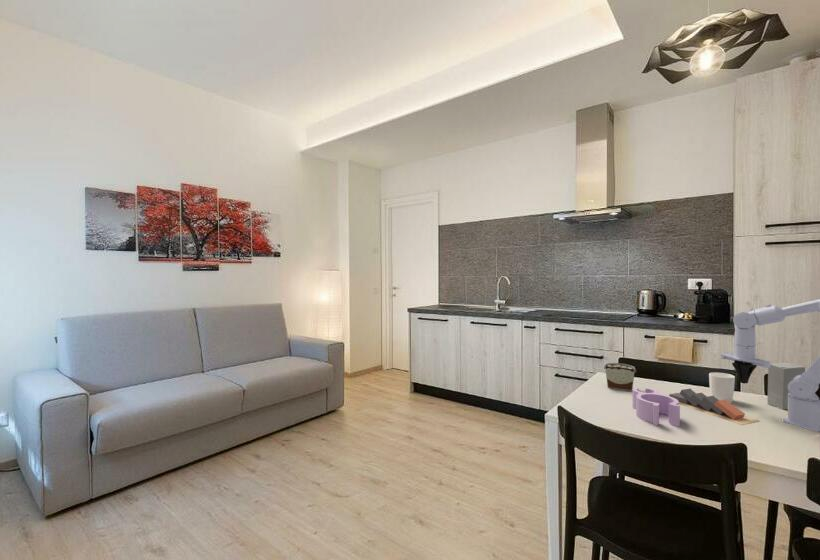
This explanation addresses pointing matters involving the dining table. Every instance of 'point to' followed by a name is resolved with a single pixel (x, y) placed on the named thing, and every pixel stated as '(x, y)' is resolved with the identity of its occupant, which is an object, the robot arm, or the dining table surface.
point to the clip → (655, 406)
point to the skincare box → (781, 382)
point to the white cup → (722, 386)
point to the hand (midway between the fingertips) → (743, 382)
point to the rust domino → (729, 409)
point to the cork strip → (739, 421)
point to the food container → (620, 375)
